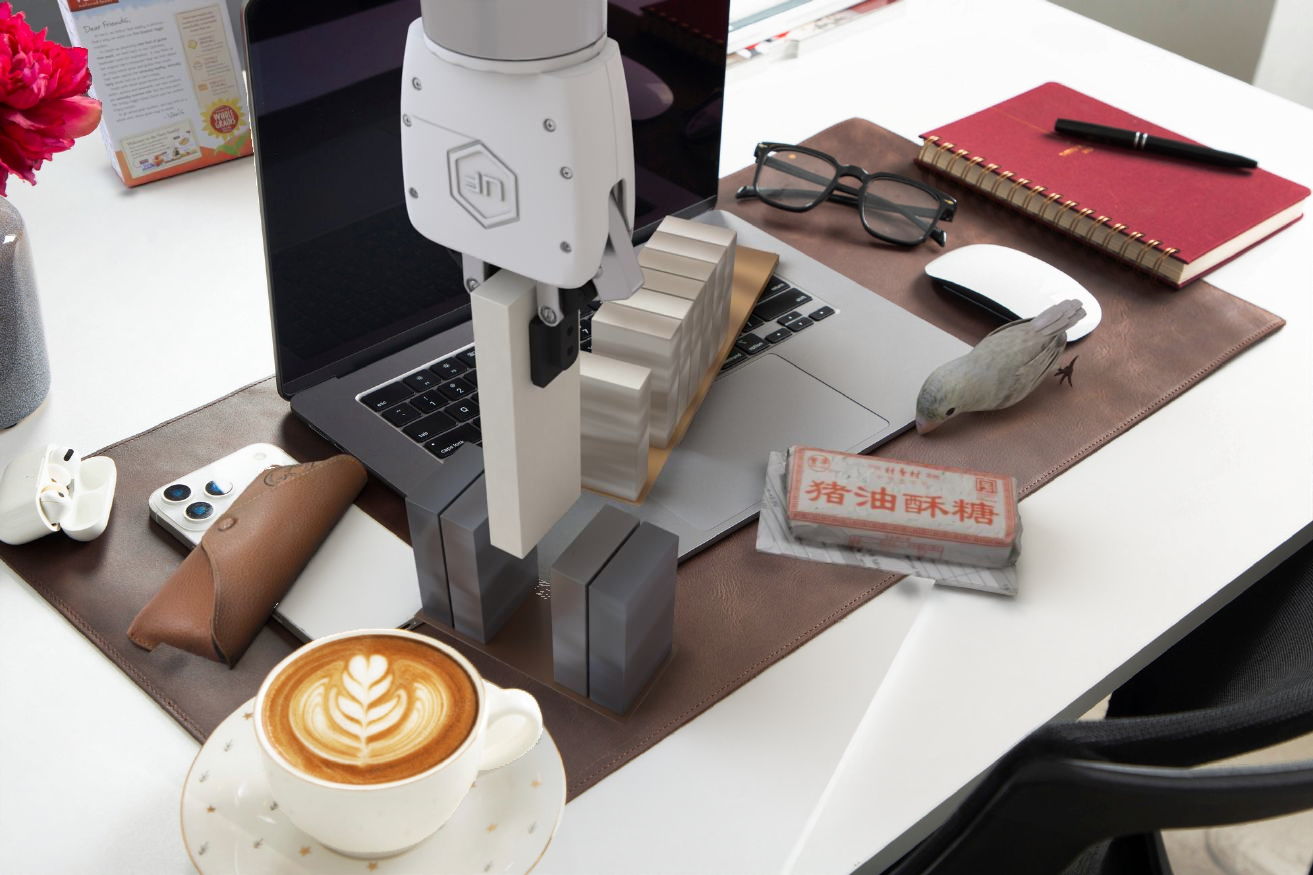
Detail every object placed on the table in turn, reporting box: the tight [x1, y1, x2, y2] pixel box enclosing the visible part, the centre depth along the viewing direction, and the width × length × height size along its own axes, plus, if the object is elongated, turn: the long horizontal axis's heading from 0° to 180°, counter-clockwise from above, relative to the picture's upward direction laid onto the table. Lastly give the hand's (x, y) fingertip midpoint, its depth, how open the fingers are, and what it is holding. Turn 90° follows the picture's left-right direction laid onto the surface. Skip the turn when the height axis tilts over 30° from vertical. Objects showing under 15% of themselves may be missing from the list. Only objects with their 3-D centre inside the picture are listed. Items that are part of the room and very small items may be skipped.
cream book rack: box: [580, 215, 780, 508], centre depth 92 cm, size 36×7×12 cm, turn 159°
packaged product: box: [755, 445, 1024, 596], centre depth 81 cm, size 18×5×10 cm
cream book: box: [469, 268, 582, 559], centre depth 60 cm, size 2×6×17 cm, turn 150°
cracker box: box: [56, 0, 254, 188], centre depth 112 cm, size 14×6×21 cm, turn 126°
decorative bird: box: [915, 298, 1088, 436], centre depth 91 cm, size 5×16×8 cm, turn 123°
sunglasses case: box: [125, 453, 369, 671], centre depth 77 cm, size 18×7×7 cm, turn 163°
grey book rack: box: [404, 441, 682, 727], centre depth 70 cm, size 16×7×12 cm, turn 60°
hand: (530, 360), depth 58 cm, fingers closed on cream book, 2 cm apart
